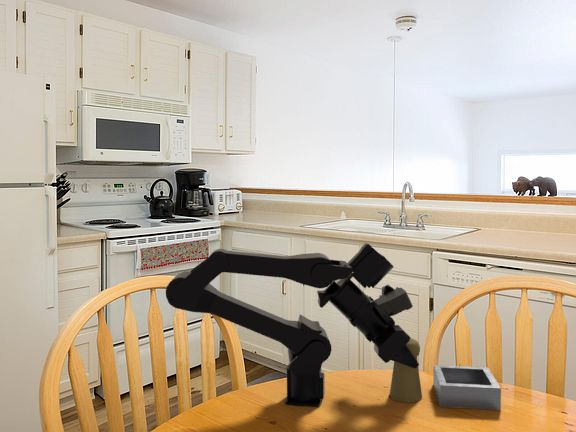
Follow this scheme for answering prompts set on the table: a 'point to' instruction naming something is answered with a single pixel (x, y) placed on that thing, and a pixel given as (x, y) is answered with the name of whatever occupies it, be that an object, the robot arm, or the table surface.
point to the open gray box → (466, 387)
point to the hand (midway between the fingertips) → (413, 361)
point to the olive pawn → (406, 378)
